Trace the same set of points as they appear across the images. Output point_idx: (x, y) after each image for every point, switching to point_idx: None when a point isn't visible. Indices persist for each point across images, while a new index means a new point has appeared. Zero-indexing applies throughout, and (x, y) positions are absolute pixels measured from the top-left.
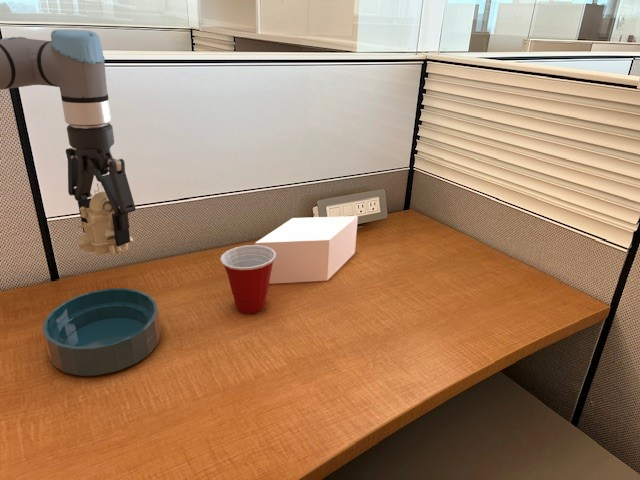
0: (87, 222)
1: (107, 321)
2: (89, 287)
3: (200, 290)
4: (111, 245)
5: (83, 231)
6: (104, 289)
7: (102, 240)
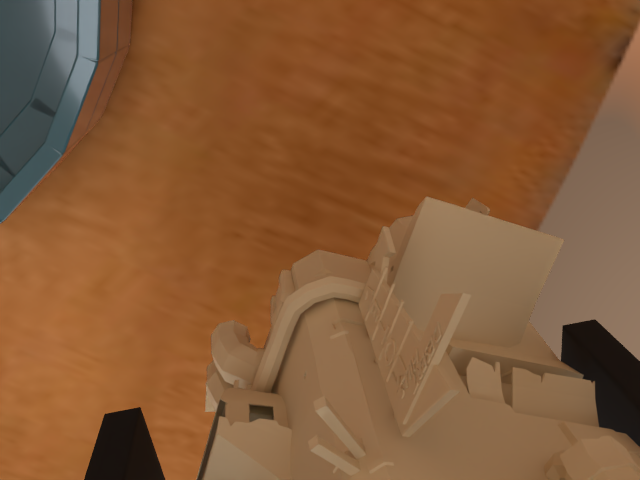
0: (612, 414)
1: (32, 47)
2: (433, 145)
3: (57, 462)
4: (245, 380)
5: (592, 323)
6: (70, 121)
7: (293, 366)
